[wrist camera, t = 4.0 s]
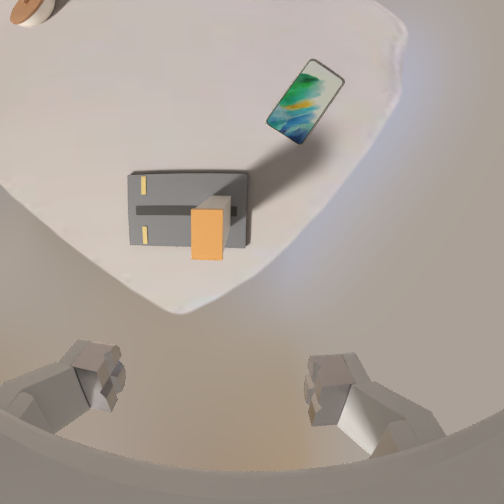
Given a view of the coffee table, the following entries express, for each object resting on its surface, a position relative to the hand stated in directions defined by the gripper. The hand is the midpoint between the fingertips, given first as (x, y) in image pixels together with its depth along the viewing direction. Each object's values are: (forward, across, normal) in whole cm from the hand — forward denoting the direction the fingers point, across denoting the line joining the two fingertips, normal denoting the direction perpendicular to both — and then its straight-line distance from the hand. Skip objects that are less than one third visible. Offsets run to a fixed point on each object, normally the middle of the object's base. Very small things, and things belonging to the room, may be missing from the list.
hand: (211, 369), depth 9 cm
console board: (+39, +9, 0) cm, 40 cm away
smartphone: (+40, -10, -19) cm, 45 cm away
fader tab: (+38, +3, 0) cm, 38 cm away
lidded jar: (+39, +47, -48) cm, 78 cm away
